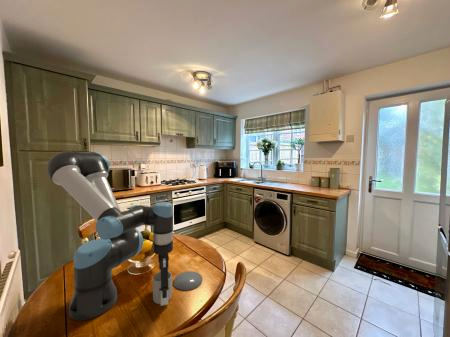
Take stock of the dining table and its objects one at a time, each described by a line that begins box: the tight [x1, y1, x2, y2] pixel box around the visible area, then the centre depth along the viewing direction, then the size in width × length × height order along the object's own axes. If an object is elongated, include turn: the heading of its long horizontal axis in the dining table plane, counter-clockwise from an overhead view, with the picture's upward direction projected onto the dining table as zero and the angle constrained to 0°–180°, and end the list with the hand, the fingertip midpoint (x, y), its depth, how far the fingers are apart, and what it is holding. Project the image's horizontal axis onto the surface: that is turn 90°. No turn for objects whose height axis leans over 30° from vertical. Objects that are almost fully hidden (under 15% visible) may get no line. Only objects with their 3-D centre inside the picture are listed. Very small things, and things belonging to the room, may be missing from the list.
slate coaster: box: [172, 270, 203, 291], centre depth 87 cm, size 13×13×1 cm
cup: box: [152, 271, 173, 305], centre depth 77 cm, size 7×10×9 cm
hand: (163, 293), depth 78 cm, fingers open, 11 cm apart
